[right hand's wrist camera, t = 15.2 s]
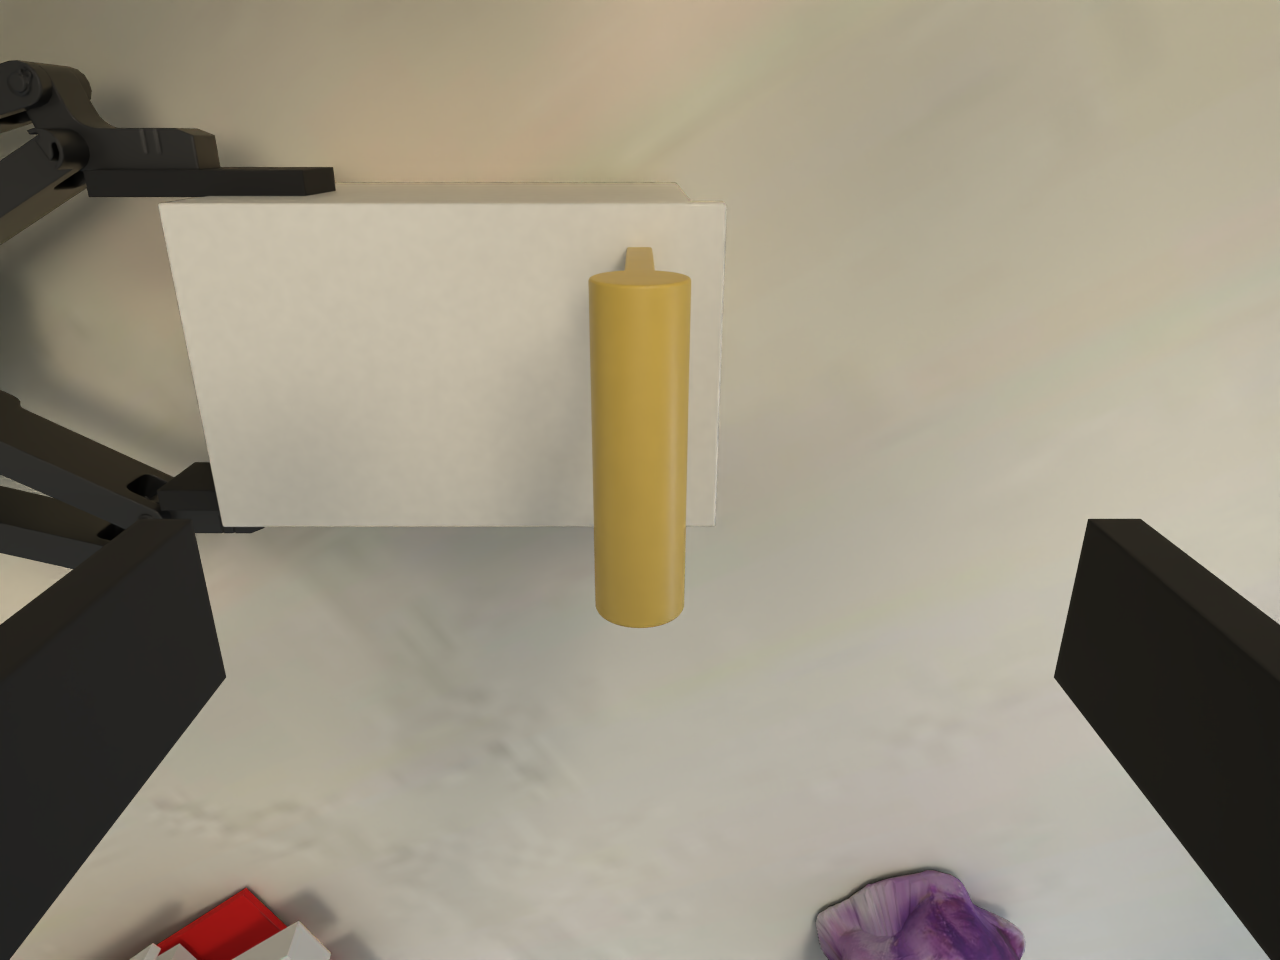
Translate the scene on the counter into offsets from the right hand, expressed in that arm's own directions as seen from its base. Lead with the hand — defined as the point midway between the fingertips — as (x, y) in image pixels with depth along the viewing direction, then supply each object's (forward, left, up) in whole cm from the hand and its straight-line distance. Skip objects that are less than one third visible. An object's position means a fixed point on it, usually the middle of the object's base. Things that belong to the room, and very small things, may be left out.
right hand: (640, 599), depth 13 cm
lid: (+2, -5, -14) cm, 15 cm away
